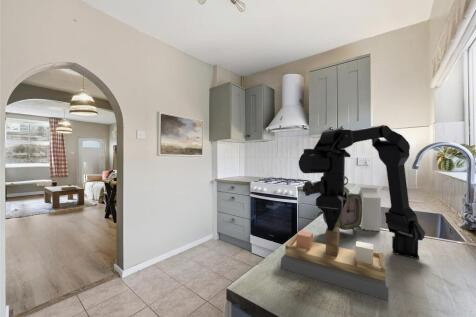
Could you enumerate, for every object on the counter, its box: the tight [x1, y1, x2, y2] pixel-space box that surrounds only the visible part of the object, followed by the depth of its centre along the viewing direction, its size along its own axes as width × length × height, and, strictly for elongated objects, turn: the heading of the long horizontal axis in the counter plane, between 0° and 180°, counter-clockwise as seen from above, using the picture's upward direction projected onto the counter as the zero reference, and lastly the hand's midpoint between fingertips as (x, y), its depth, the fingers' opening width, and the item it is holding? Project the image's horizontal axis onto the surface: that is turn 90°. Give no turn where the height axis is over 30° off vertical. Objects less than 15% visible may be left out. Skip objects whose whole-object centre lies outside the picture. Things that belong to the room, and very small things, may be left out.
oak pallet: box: [284, 226, 387, 281], centre depth 62 cm, size 25×10×9 cm, turn 58°
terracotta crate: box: [296, 230, 314, 250], centre depth 66 cm, size 4×4×4 cm
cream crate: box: [355, 240, 374, 265], centre depth 58 cm, size 4×4×4 cm
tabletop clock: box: [322, 176, 362, 239], centre depth 91 cm, size 14×9×25 cm, turn 117°
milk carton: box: [357, 186, 382, 232], centre depth 99 cm, size 7×7×19 cm
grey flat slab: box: [280, 252, 389, 301], centre depth 62 cm, size 26×14×3 cm, turn 58°
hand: (332, 226), depth 62 cm, fingers open, 9 cm apart
